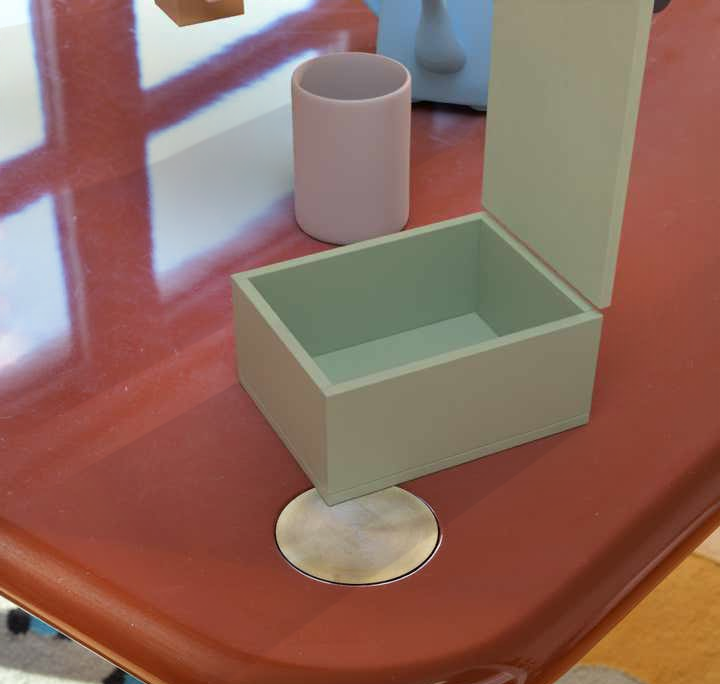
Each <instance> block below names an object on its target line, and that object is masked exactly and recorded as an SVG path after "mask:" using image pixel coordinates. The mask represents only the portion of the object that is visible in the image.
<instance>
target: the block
mask: <svg viewBox="0 0 720 684" xmlns="http://www.w3.org/2000/svg"><path fill="white" fill-rule="evenodd" d="M154 5H156V7H158V8H159V9H160V10H161V11H162V12H163V13H164V14H165V15H166V16H167V17H168V18H169V19H170V20H171V21H172V22H173V23H174V24H175V25H176V26H177V27H178V28H184V27H188V26H193V25H198V24H204V23H209V22H214V21H218V20H219V21H220V20H223V19H228V18H233V17H239V16H243V15H245V0H221V1H216V2H211V3H209V2H207V1H205V0H154Z"/></svg>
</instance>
